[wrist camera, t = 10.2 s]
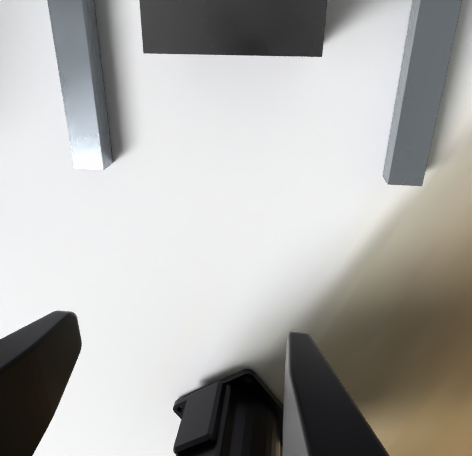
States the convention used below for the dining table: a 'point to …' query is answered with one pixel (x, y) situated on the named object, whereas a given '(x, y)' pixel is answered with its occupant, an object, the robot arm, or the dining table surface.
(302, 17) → the jaw
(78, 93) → the vise base
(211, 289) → the dining table surface
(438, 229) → the dining table surface
